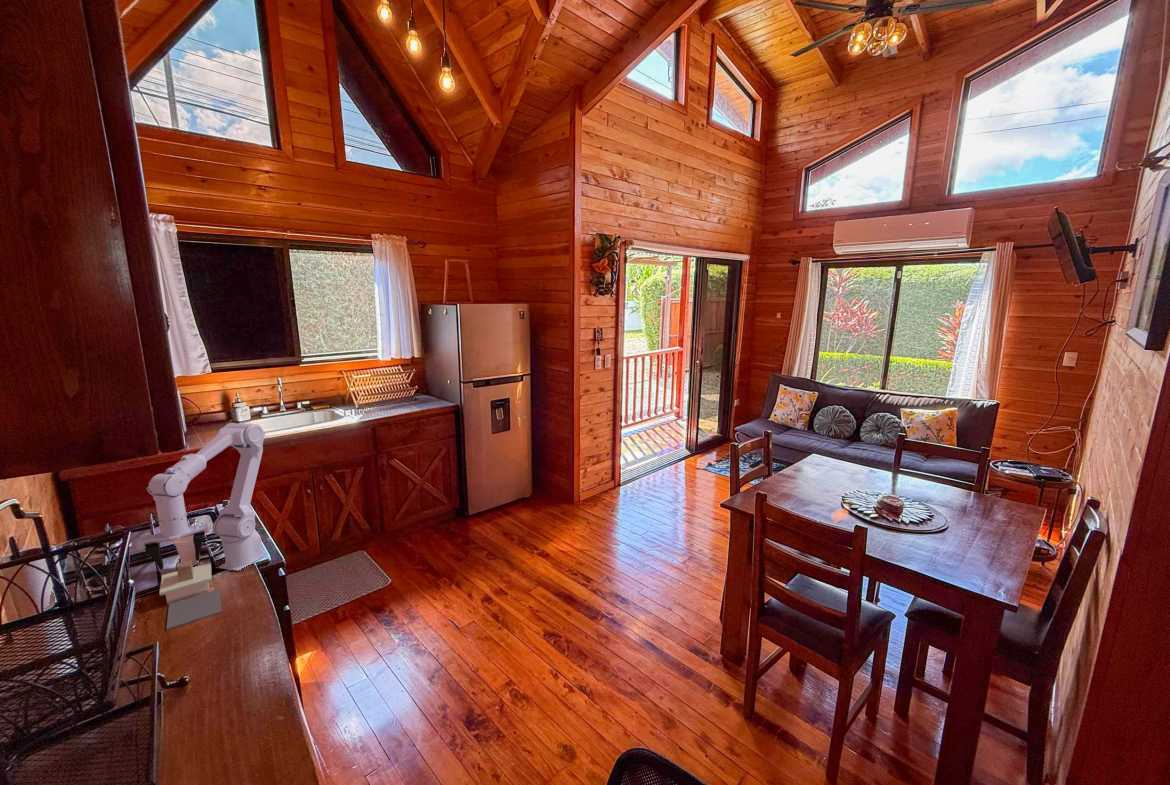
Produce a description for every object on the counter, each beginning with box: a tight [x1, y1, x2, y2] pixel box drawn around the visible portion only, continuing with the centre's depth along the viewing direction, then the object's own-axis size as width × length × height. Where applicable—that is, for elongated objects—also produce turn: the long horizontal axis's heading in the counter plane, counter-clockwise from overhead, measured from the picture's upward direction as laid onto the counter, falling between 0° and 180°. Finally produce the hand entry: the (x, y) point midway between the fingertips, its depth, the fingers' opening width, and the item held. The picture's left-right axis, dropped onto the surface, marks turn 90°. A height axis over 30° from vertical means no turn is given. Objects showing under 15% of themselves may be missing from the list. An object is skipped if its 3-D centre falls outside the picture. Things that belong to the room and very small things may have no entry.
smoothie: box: [173, 535, 200, 566], centre depth 148 cm, size 6×6×14 cm
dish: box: [164, 582, 210, 605], centre depth 136 cm, size 9×9×4 cm
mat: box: [166, 588, 222, 631], centre depth 128 cm, size 13×11×1 cm
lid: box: [159, 560, 213, 597], centre depth 135 cm, size 11×11×4 cm
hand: (179, 563), depth 132 cm, fingers open, 7 cm apart
